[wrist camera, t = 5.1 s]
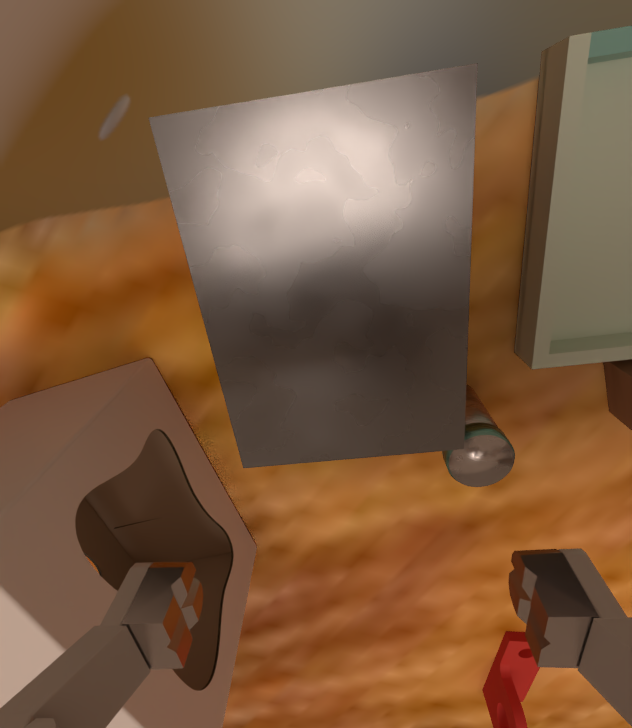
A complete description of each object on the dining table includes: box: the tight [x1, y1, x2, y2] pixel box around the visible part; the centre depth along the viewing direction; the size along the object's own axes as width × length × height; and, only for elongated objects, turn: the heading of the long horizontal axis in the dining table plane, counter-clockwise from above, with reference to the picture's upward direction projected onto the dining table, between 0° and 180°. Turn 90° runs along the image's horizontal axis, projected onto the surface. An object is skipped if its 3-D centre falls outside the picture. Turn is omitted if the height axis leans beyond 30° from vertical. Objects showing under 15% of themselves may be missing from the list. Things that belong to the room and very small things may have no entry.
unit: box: [149, 63, 477, 468], centre depth 21 cm, size 12×16×13 cm
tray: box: [514, 26, 632, 369], centre depth 24 cm, size 11×18×3 cm, turn 8°
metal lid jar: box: [442, 385, 515, 487], centre depth 28 cm, size 4×4×7 cm
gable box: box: [0, 358, 257, 728], centre depth 23 cm, size 22×13×28 cm, turn 18°
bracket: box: [483, 631, 540, 728], centre depth 43 cm, size 12×4×8 cm, turn 178°
